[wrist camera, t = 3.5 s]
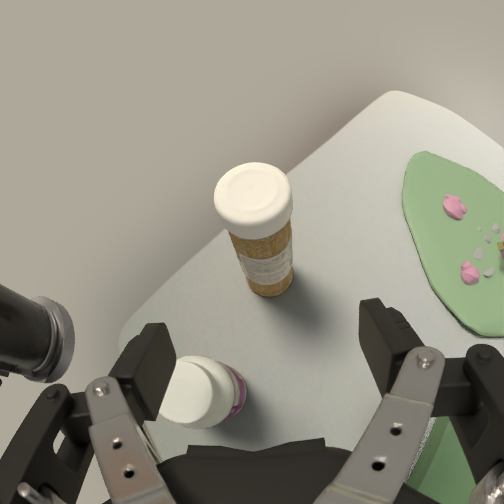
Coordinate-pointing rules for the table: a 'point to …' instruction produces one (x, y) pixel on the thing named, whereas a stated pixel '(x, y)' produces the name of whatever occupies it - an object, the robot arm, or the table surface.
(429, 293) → the table surface
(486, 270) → the plant
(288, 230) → the sprinkles bottle
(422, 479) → the green tray
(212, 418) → the pill bottle
